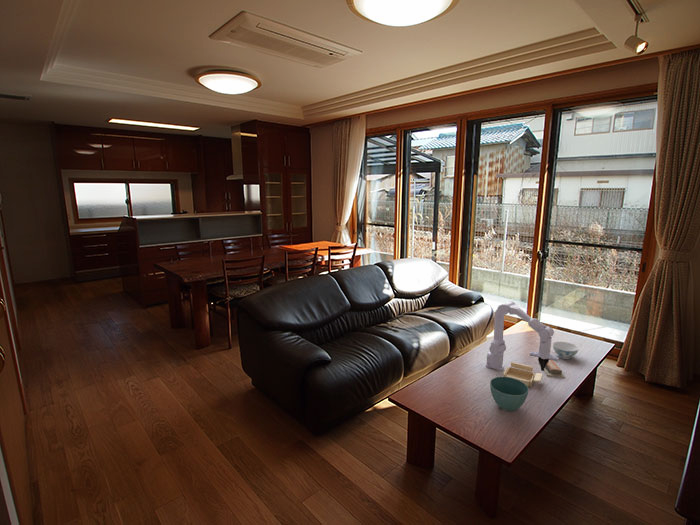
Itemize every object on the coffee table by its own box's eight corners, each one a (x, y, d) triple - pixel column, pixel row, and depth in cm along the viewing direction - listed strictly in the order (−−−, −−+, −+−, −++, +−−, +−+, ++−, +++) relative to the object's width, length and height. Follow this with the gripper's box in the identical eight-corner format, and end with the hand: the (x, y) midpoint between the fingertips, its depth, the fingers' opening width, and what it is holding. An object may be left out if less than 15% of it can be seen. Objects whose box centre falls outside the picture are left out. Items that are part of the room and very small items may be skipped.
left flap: (510, 366, 225) (510, 362, 223) (511, 365, 225) (511, 361, 224) (532, 371, 218) (532, 367, 217) (532, 370, 219) (532, 366, 217)
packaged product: (538, 356, 236) (555, 357, 235) (537, 363, 237) (554, 364, 236) (548, 369, 219) (566, 371, 217) (547, 377, 220) (565, 378, 218)
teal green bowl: (534, 413, 184) (537, 391, 181) (504, 420, 179) (506, 397, 176) (509, 394, 201) (511, 374, 198) (481, 400, 196) (482, 379, 193)
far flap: (533, 380, 208) (540, 380, 206) (535, 372, 216) (542, 373, 214) (533, 381, 208) (540, 382, 206) (536, 374, 216) (542, 374, 214)
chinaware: (582, 361, 238) (583, 350, 236) (559, 362, 238) (560, 351, 237) (569, 351, 252) (570, 341, 251) (547, 352, 253) (548, 341, 251)
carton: (501, 380, 216) (502, 375, 216) (506, 371, 227) (506, 366, 226) (530, 387, 208) (531, 382, 207) (534, 378, 218) (534, 372, 217)
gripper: (529, 347, 207) (527, 369, 210) (558, 353, 199) (556, 376, 202) (531, 343, 213) (529, 364, 216) (559, 348, 205) (557, 371, 208)
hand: (542, 370), depth 209 cm, fingers closed
